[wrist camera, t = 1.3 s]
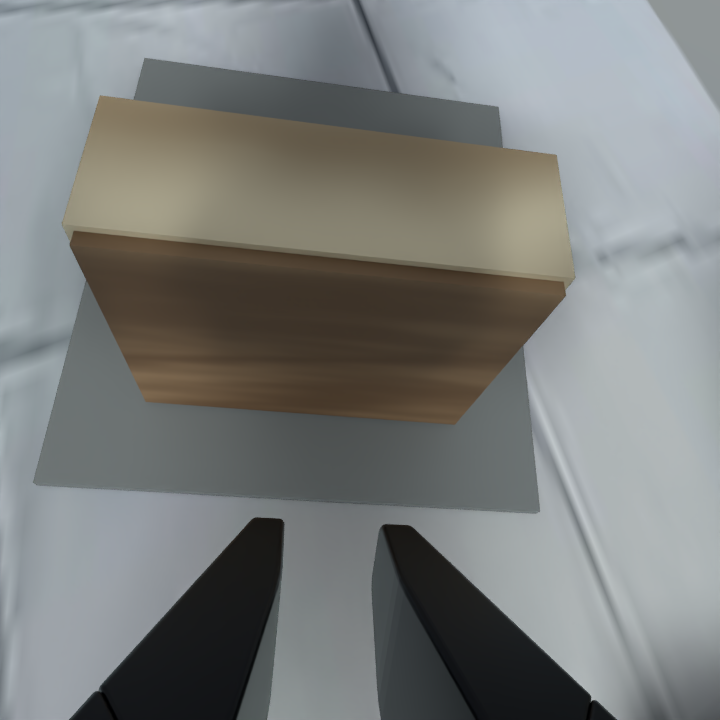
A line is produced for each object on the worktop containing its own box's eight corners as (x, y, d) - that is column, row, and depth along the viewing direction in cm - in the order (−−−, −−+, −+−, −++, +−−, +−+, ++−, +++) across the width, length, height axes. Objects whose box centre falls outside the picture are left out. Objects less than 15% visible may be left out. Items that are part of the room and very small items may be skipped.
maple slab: (458, 426, 24) (577, 292, 15) (141, 403, 22) (57, 238, 13) (453, 327, 25) (556, 154, 16) (161, 300, 24) (99, 95, 15)
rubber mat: (535, 513, 23) (540, 511, 23) (36, 485, 21) (32, 482, 20) (495, 112, 32) (498, 106, 32) (146, 65, 30) (144, 58, 29)
